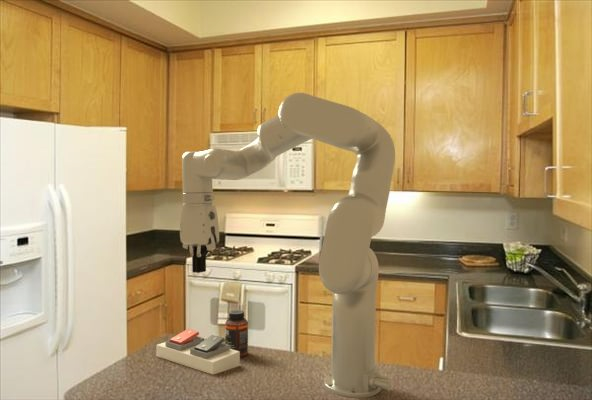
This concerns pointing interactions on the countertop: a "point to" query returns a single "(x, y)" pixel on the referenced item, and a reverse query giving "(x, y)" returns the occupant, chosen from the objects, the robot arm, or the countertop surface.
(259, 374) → the countertop surface
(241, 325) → the supplement bottle
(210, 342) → the black rocker
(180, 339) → the red rocker
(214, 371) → the rocker switch panel
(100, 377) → the countertop surface
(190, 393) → the countertop surface
